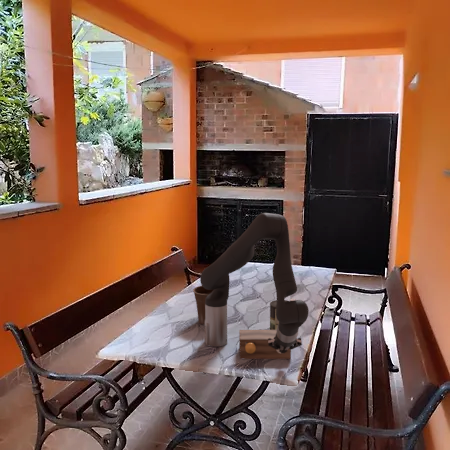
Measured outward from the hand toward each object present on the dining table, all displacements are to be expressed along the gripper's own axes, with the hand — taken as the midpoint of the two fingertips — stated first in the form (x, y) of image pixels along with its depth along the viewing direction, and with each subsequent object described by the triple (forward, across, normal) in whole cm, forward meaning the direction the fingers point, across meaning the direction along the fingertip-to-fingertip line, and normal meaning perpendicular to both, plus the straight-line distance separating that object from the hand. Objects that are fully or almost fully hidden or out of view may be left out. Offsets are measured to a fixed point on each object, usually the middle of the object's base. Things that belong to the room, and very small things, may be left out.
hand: (282, 350), depth 185 cm
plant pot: (+36, +29, -28) cm, 54 cm away
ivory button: (+6, 0, -3) cm, 6 cm away
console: (+10, +6, -3) cm, 13 cm away
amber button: (+6, +12, -3) cm, 14 cm away
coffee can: (+25, -3, -18) cm, 31 cm away
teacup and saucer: (+50, -11, -43) cm, 67 cm away
